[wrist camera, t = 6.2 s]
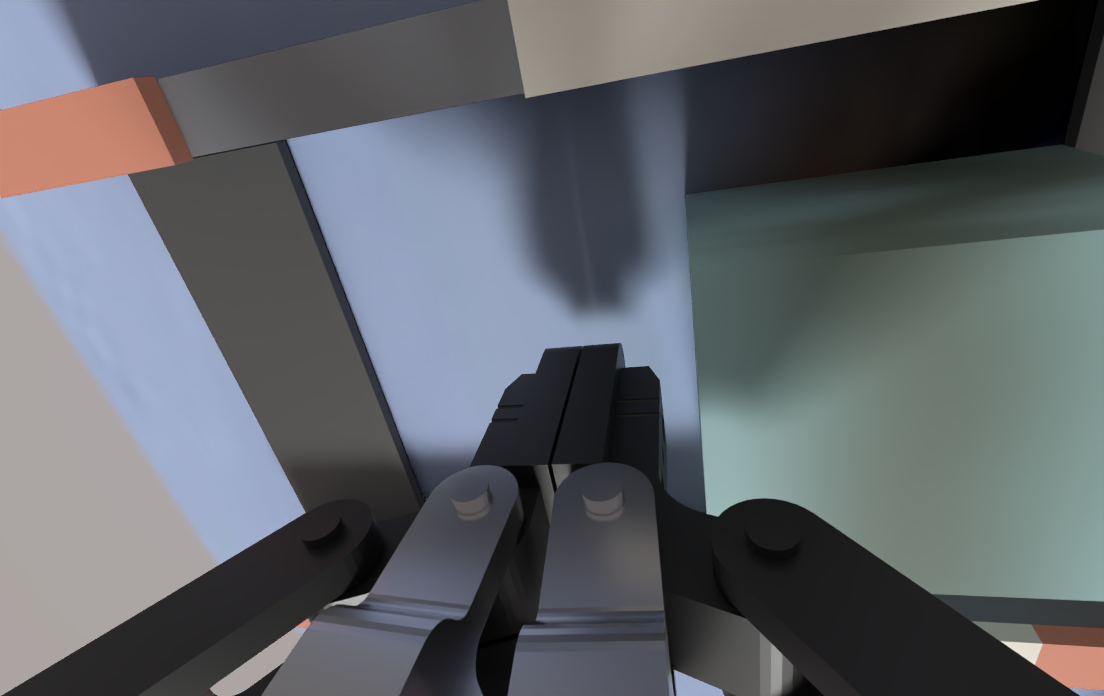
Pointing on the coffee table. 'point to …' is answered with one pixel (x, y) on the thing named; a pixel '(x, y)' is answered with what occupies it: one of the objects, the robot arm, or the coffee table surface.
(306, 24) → the coffee table surface
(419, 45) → the open tray box
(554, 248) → the coffee table surface
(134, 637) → the robot arm
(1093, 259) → the teal block
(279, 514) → the coffee table surface
